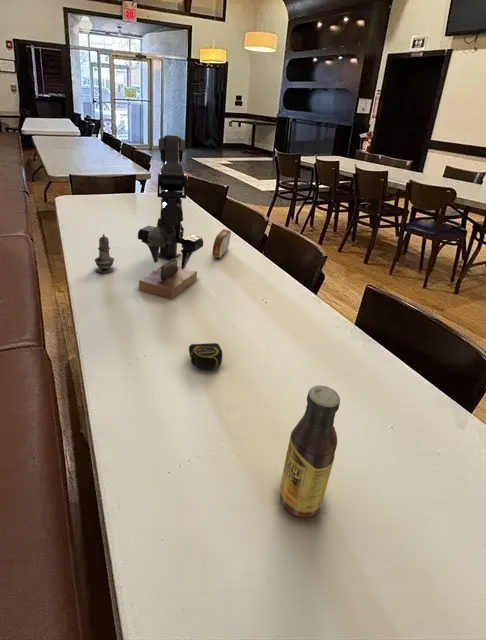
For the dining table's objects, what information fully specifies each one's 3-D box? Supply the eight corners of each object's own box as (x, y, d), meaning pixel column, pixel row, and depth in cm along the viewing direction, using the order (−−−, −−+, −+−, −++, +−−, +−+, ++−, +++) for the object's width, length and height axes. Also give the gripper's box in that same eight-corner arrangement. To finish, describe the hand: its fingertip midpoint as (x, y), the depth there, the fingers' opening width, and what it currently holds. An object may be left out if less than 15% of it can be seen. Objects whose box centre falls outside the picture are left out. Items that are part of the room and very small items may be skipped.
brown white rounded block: (222, 246, 157) (224, 225, 154) (230, 248, 157) (232, 227, 154) (210, 260, 144) (212, 237, 141) (219, 262, 143) (221, 239, 140)
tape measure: (218, 354, 93) (219, 339, 91) (224, 373, 87) (225, 358, 85) (188, 355, 91) (189, 341, 90) (191, 375, 85) (192, 359, 84)
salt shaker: (117, 267, 132) (116, 232, 128) (110, 275, 127) (109, 238, 122) (99, 265, 132) (97, 230, 128) (91, 272, 127) (90, 236, 123)
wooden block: (165, 271, 132) (165, 262, 131) (196, 279, 128) (197, 270, 127) (138, 289, 119) (138, 279, 118) (172, 299, 115) (172, 289, 114)
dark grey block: (172, 270, 126) (173, 257, 124) (177, 271, 125) (177, 259, 124) (160, 278, 120) (160, 265, 118) (165, 280, 119) (165, 266, 118)
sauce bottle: (274, 482, 63) (292, 375, 56) (314, 481, 64) (337, 376, 56) (284, 523, 57) (305, 410, 50) (327, 522, 58) (355, 410, 50)
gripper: (125, 215, 112) (126, 267, 118) (186, 228, 105) (184, 283, 111) (148, 206, 122) (148, 255, 127) (205, 218, 115) (202, 269, 121)
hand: (169, 265), depth 121 cm, fingers open, 9 cm apart
